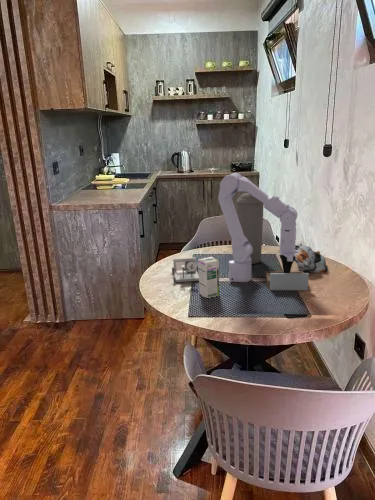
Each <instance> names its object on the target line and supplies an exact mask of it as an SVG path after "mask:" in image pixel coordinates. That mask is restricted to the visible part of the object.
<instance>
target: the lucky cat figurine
mask: <svg viewBox="0 0 375 500" xmlns="http://www.w3.org/2000/svg"><path fill="white" fill-rule="evenodd" d="M295 250H298V253H295V255H294V256H295V260H294V262H295V264H297V271H303V272H307V273H315V274H321V273H327V272H329V270H330V269H329V266H328V264H326V263H327V262H326V258H325V257H324V256H323V255H322V254H321V252H320V251H319V250H317V251H314V250H313V249H312V247H310V246H309V245H302V243H298V244H295Z"/></svg>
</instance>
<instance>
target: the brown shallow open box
mask: <svg viewBox="0 0 375 500" xmlns="http://www.w3.org/2000/svg"><path fill="white" fill-rule="evenodd" d="M270 273H284V271H283V270H268V271H267V270H265V282H266V285H267V289H268V291H271V290H270ZM290 273H305V271H299V270H294V271H293V270H291V271H290ZM290 291H293V292H294V291H296V292H297V291H299V292H300V291H303V292H304V291H305V292H307V291H310V289H309V288H308V290H290Z"/></svg>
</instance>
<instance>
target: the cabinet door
mask: <svg viewBox="0 0 375 500" xmlns="http://www.w3.org/2000/svg"><path fill="white" fill-rule="evenodd" d="M309 276H310V275H309V272H304V273H270V290H269V291H291V290H308V289H309Z"/></svg>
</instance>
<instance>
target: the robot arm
mask: <svg viewBox="0 0 375 500" xmlns="http://www.w3.org/2000/svg"><path fill="white" fill-rule="evenodd" d="M218 191H219V192H218V196H217V197H218V198H217V200H218V202H219V203H218V204H219V206H220V208H221V212H222V215H223V217H224V220H225V223H226V227H227V231H228V232H229V235H230V239H231V249H232V254H231V255H232V259H231V260H228V273H227V274H228V275H227V276H228V284H229V285H231V282H236V283H237V282H240V283H248V282H250V281H251V280H252V265H253V264H252V259H251V257H250V255H251V254H252V252H253V248H252V246H251V244H250V243H249V242H248V240H247V238H246V237H245V236H244V234H243V231H242V228H241V225H240V222H239V218H238V215H237V210H236V207H235V206H236V205H235V204H234V200H233V198H234V196H235V195H236V192H246V193H249V194H251V195H252V196H254V197H255V198H257V199H258V200H260V201H261V202H263V204H264V207H263V209H265V210H266V211H268V212H269V213H271V214H272V215H274V216H275V217H276V218H278V219H279V222H280V223H281V224H280V239H279V240H280V241H279V243H280V245H279V258H280V260H281V265H282V271H284V273H290V271H292V267H293V264H294V262H295V261H294V260H295V256H294V255H295V253H298V250H295V245H297V243H296V242H297V241H296V240H297V219H298V211H297V209H295V208H294V207H292V206H290V204H286V203H285V202H283V201H282V200H280V197H279V196H278V195H277V196H276V195H268V194H267V193H266V192H264V191H263V190H262V189H261V188H260V187H258V186H257V185H256V184H254V182H252V181H251V180H250V179H249V178H247V177H246V176H243V175H242V174H241V173H239V172H232V173H231V174H227V175H225V176H224V177H223V178H222V180H221V182H220V183H219V190H218Z"/></svg>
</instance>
